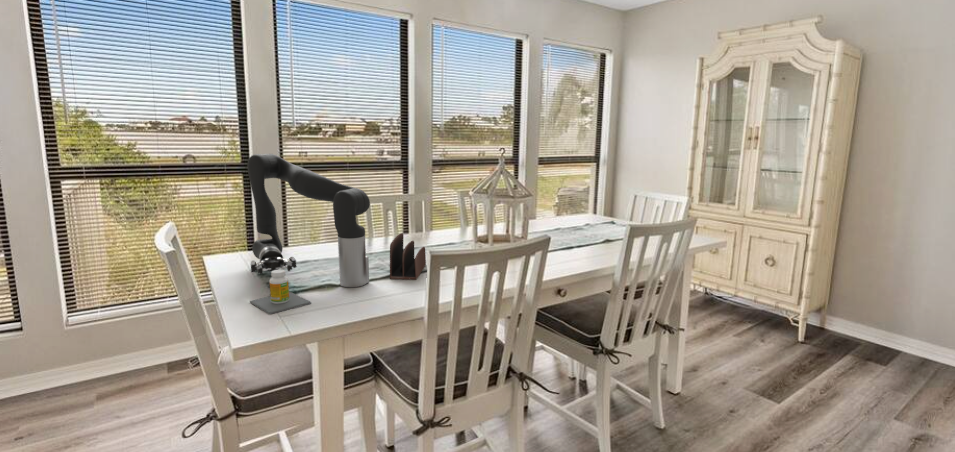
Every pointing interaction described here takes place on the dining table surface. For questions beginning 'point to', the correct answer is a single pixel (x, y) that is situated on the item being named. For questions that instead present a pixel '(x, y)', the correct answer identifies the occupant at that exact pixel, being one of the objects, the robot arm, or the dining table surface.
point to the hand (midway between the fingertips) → (275, 269)
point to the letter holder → (405, 260)
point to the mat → (274, 308)
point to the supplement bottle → (279, 287)
